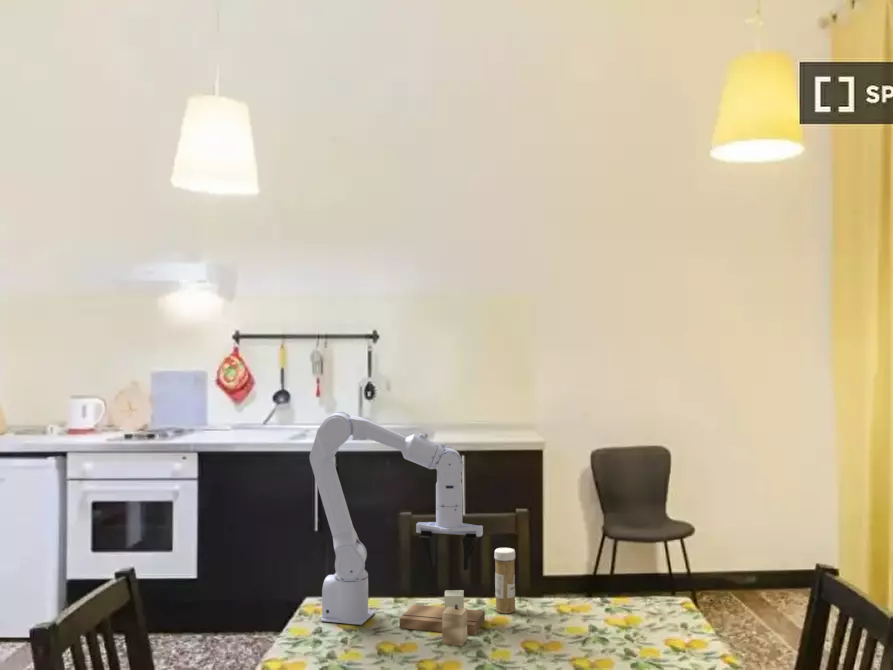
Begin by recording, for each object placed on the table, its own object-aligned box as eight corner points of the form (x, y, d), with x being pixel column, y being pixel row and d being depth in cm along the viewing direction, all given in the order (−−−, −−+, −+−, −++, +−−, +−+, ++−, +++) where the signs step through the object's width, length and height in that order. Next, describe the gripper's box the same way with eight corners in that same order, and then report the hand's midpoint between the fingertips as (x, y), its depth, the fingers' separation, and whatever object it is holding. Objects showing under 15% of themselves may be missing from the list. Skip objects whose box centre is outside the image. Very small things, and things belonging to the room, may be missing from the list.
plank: (399, 627, 164) (399, 617, 165) (413, 613, 173) (413, 604, 173) (474, 635, 160) (474, 624, 160) (484, 620, 169) (484, 610, 169)
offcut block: (444, 615, 166) (444, 596, 166) (445, 609, 170) (444, 590, 170) (463, 615, 166) (463, 596, 166) (463, 608, 170) (463, 590, 170)
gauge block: (442, 643, 156) (442, 609, 156) (448, 636, 160) (447, 602, 160) (462, 645, 155) (461, 610, 155) (467, 638, 158) (467, 604, 159)
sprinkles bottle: (517, 613, 173) (517, 551, 173) (497, 614, 172) (496, 552, 172) (513, 606, 177) (512, 546, 177) (493, 608, 177) (492, 547, 177)
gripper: (411, 506, 170) (411, 570, 170) (477, 509, 166) (477, 575, 166) (421, 500, 177) (422, 561, 177) (484, 503, 173) (485, 565, 173)
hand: (449, 567), depth 172 cm, fingers open, 7 cm apart
